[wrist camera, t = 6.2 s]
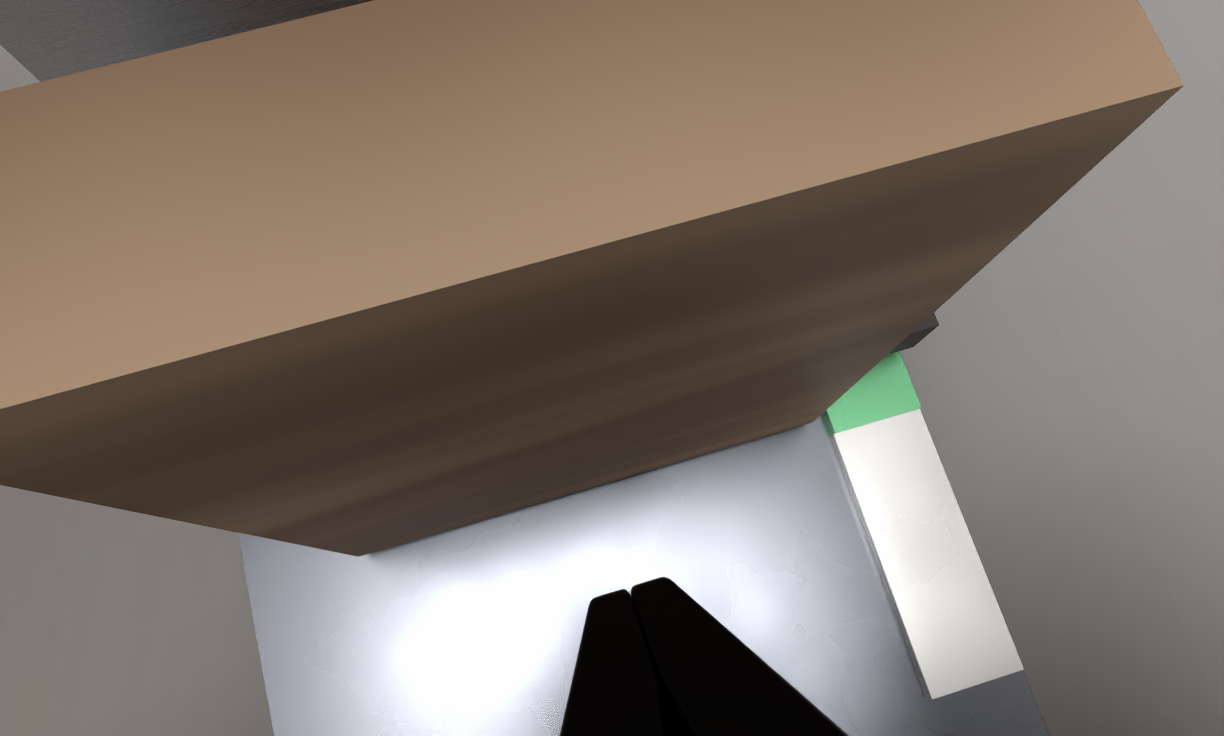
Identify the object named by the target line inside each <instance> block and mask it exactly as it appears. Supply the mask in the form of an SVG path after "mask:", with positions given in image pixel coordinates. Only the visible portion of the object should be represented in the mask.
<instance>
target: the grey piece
mask: <svg viewBox="0 0 1224 736" xmlns="http://www.w3.org/2000/svg"><path fill="white" fill-rule="evenodd" d="M369 1H373V0H0V45H1V46H3V47H4V48H5V49H6V50H7V51H8V52H9V53H10V54H11V55H12V56H13V57H14V58H16V59H17V60H18V61H19V62H20V63H21V64H22V65H23V66H24V67H25V68H26V69H27V70H29V71H30V72H31V73H32V74H33V75H34V76H35V77H36V78H37V79H38V80H39V81H40V82H43V81H47V80H51V79H55V78H59V77H63V76H67V75H71V74H75V73H80V72H84V71H88V70H92V69H96V68H100V67H104V66H108V65H112V64H116V63H120V62H124V61H129V60H133V59H137V58H141V57H145V56H149V55H153V54H157V53H161V52H165V51H169V50H173V49H178V48H182V47H186V46H190V45H194V44H198V43H202V42H206V41H210V40H214V39H218V38H222V37H227V36H231V35H235V34H239V33H243V32H247V31H251V30H255V29H259V28H263V27H267V26H271V25H276V24H280V23H284V22H288V21H292V20H296V19H300V18H304V17H308V16H312V15H316V14H320V13H325V12H329V11H333V10H337V9H341V8H345V7H349V6H353V5H357V4H361V3H365V2H369ZM920 408H921V405H920V402H919V400H918V397H917V395H916V392H915V390H914V387H913V385H912V382H911V380H910V377H909V375H908V372H907V370H906V367H905V365H904V362H903V360H902V357H901V355H900V352H899V351H897V352H894V353H891V354H888V355H886V356H885V357H884V358H883V359H882V360H881V361H880V362H879V363H878V364H876V365H875V366H874V367H873V368H872V369H871V370H870V371H869V372H868V373H867V374H865V375H864V376H863V377H862V378H861V379H860V380H859V381H858V382H857V383H856V384H854V385H853V386H852V387H851V388H850V389H849V390H848V391H847V392H846V393H845V394H843V395H842V396H841V397H840V398H839V399H838V400H837V401H836V402H835V403H834V404H832V405H831V406H830V407H829V408H828V409H827V410H826V411H825V412H824V413H823V414H821V415H820V416H819V417H818V418H817V419H816V420H815V421H814V422H812V423H808V424H805V425H802V426H798V427H795V428H792V429H788V430H785V431H781V432H778V433H775V434H771V435H768V436H765V437H761V438H758V439H754V440H751V441H748V442H744V443H741V444H738V445H734V446H731V447H727V448H724V449H721V450H717V451H714V452H711V453H707V454H704V455H700V456H697V457H694V458H690V459H687V460H684V461H680V462H677V463H673V464H670V465H667V466H663V467H660V468H657V469H653V470H650V471H646V472H643V473H640V474H636V475H633V476H630V477H626V478H623V479H619V480H616V481H613V482H609V483H606V484H603V485H599V486H596V487H592V488H589V489H586V490H582V491H579V492H576V493H572V494H569V495H565V496H562V497H559V498H555V499H552V500H549V501H545V502H542V503H538V504H535V505H532V506H528V507H525V508H522V509H518V510H515V511H511V512H508V513H505V514H501V515H498V516H495V517H491V518H488V519H484V520H481V521H478V522H474V523H471V524H468V525H464V526H461V527H457V528H454V529H451V530H447V531H444V532H441V533H437V534H434V535H430V536H427V537H424V538H420V539H417V540H413V541H410V542H407V543H403V544H400V545H397V546H393V547H390V548H386V549H383V550H380V551H376V552H373V553H370V554H366V555H363V556H359V557H357V556H352V555H347V554H342V553H337V552H332V551H327V550H322V549H317V548H312V547H308V546H303V545H298V544H293V543H288V542H283V541H278V540H273V539H268V538H263V537H258V536H253V535H248V534H243V533H238V537H239V542H240V548H241V554H242V559H243V565H244V570H245V576H246V581H247V587H248V593H249V598H250V604H251V609H252V615H253V621H254V626H255V632H256V637H257V643H258V648H259V654H260V660H261V665H262V671H263V676H264V682H265V688H266V693H267V699H268V704H269V710H270V715H271V721H272V727H273V732H274V736H560V731H561V727H562V722H563V718H564V713H565V709H566V704H567V700H568V695H569V691H570V686H571V682H572V677H573V673H574V668H575V664H576V659H577V655H578V651H579V646H580V642H581V637H582V633H583V628H584V624H585V619H586V615H587V610H588V606H589V604H590V601H591V600H592V599H593V598H595V597H598V596H601V595H604V594H607V593H611V592H614V591H617V590H620V589H625V590H627V591H628V592H629V593H630V591H631V588H632V587H633V586H634V585H637V584H640V583H643V582H646V581H650V580H653V579H656V578H659V577H667V578H669V579H671V580H672V581H673V582H674V583H676V584H677V585H678V586H679V587H680V588H681V589H682V590H684V591H685V592H686V593H687V594H688V595H689V596H690V597H692V598H693V599H694V600H695V601H696V602H697V603H698V604H700V605H701V606H702V607H703V608H704V609H705V610H706V611H708V612H709V613H710V614H711V615H712V616H713V617H714V618H716V619H717V620H718V621H719V622H720V623H721V624H722V625H724V626H725V627H726V628H727V629H728V630H729V631H730V632H732V633H733V634H734V635H735V636H736V637H737V638H738V639H740V640H741V641H742V642H743V643H744V644H745V645H746V646H748V647H749V648H750V649H751V650H752V651H753V652H754V653H755V654H757V655H758V656H759V657H760V658H761V659H762V660H763V661H765V662H766V663H767V664H768V665H769V666H770V667H771V668H773V669H774V670H775V671H776V672H777V673H778V674H779V675H781V676H782V677H783V678H784V679H785V680H786V681H787V682H789V683H790V684H791V685H792V686H793V687H794V688H795V689H797V690H798V691H799V692H800V693H801V694H802V695H803V696H805V697H806V698H807V699H808V700H809V701H810V702H811V703H813V704H814V705H815V706H816V707H817V708H818V709H819V710H821V711H822V712H823V713H824V714H825V715H826V716H827V717H829V718H830V719H831V720H832V721H833V722H834V723H835V724H837V725H838V726H839V727H840V728H841V729H842V730H843V731H845V732H846V733H847V734H848V735H849V736H1049V734H1048V732H1047V729H1046V727H1045V724H1044V722H1043V719H1042V717H1041V714H1040V712H1039V709H1038V707H1037V704H1036V702H1035V699H1034V697H1033V694H1032V692H1031V689H1030V687H1029V684H1028V682H1027V679H1026V677H1025V674H1024V672H1023V670H1024V668H1023V665H1022V663H1021V660H1020V658H1019V655H1018V653H1017V650H1016V648H1015V645H1014V643H1013V640H1012V638H1011V635H1010V633H1009V630H1008V628H1007V625H1006V623H1005V620H1004V618H1003V615H1002V613H1001V610H1000V608H999V605H998V603H997V600H996V598H995V595H994V593H993V590H992V588H991V585H990V583H989V580H988V578H987V575H986V573H985V571H984V568H983V566H982V563H981V561H980V558H979V556H978V553H977V551H976V548H975V546H974V543H973V541H972V538H971V536H970V533H969V531H968V528H967V526H966V523H965V521H964V518H963V516H962V513H961V511H960V508H959V506H958V503H957V501H956V498H955V496H954V493H953V491H952V488H951V486H950V483H949V481H948V478H947V476H946V473H945V471H944V468H943V466H942V463H941V461H940V458H939V456H938V453H937V451H936V448H935V446H934V443H933V441H932V438H931V436H930V433H929V431H928V428H927V426H926V423H925V421H924V418H923V416H922V413H921V411H920ZM630 595H631V593H630Z"/></svg>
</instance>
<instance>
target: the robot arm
mask: <svg viewBox="0 0 1224 736" xmlns="http://www.w3.org/2000/svg"><path fill="white" fill-rule="evenodd" d="M630 593H631V595H630ZM630 593H629V592H628V591H627V590H625V589H620V590H617V591H614V592H611V593H607V594H604V595H601V596H598V597H595V598H593V599H592V600H591V601H590V604H589V606H588V610H587V615H586V619H585V624H584V628H583V633H582V637H581V642H580V646H579V651H578V655H577V659H576V664H575V668H574V673H573V677H572V682H571V686H570V691H569V695H568V700H567V704H566V709H565V713H564V718H563V722H562V727H561V731H560V736H849V735H848V734H847V733H846V732H845V731H843V730H842V729H841V728H840V727H839V726H838V725H837V724H835V723H834V722H833V721H832V720H831V719H830V718H829V717H827V716H826V715H825V714H824V713H823V712H822V711H821V710H819V709H818V708H817V707H816V706H815V705H814V704H813V703H811V702H810V701H809V700H808V699H807V698H806V697H805V696H803V695H802V694H801V693H800V692H799V691H798V690H797V689H795V688H794V687H793V686H792V685H791V684H790V683H789V682H787V681H786V680H785V679H784V678H783V677H782V676H781V675H779V674H778V673H777V672H776V671H775V670H774V669H773V668H771V667H770V666H769V665H768V664H767V663H766V662H765V661H763V660H762V659H761V658H760V657H759V656H758V655H757V654H755V653H754V652H753V651H752V650H751V649H750V648H749V647H748V646H746V645H745V644H744V643H743V642H742V641H741V640H740V639H738V638H737V637H736V636H735V635H734V634H733V633H732V632H730V631H729V630H728V629H727V628H726V627H725V626H724V625H722V624H721V623H720V622H719V621H718V620H717V619H716V618H714V617H713V616H712V615H711V614H710V613H709V612H708V611H706V610H705V609H704V608H703V607H702V606H701V605H700V604H698V603H697V602H696V601H695V600H694V599H693V598H692V597H690V596H689V595H688V594H687V593H686V592H685V591H684V590H682V589H681V588H680V587H679V586H678V585H677V584H676V583H674V582H673V581H672V580H671V579H669V578H667V577H659V578H656V579H653V580H650V581H646V582H643V583H640V584H637V585H634V586H633V587H632V588H631V591H630Z"/></svg>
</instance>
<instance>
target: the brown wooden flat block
mask: <svg viewBox="0 0 1224 736" xmlns="http://www.w3.org/2000/svg"><path fill="white" fill-rule="evenodd" d="M1183 86H1184V85H1183V83H1182V81H1181V79H1180V77H1179V76H1178V74H1177V72H1176V70H1175V68H1174V66H1173V64H1172V63H1171V61H1170V59H1169V57H1168V55H1167V53H1166V51H1165V50H1164V48H1163V46H1162V44H1161V42H1160V40H1159V38H1158V37H1157V35H1156V33H1155V31H1154V29H1153V27H1152V25H1151V24H1150V22H1149V20H1148V18H1147V16H1146V14H1145V12H1144V11H1143V9H1142V7H1141V5H1140V3H1139V1H1138V0H373V1H369V2H365V3H361V4H357V5H353V6H349V7H345V8H341V9H337V10H333V11H329V12H325V13H320V14H316V15H312V16H308V17H304V18H300V19H296V20H292V21H288V22H284V23H280V24H276V25H271V26H267V27H263V28H259V29H255V30H251V31H247V32H243V33H239V34H235V35H231V36H227V37H222V38H218V39H214V40H210V41H206V42H202V43H198V44H194V45H190V46H186V47H182V48H178V49H173V50H169V51H165V52H161V53H157V54H153V55H149V56H145V57H141V58H137V59H133V60H129V61H124V62H120V63H116V64H112V65H108V66H104V67H100V68H96V69H92V70H88V71H84V72H80V73H75V74H71V75H67V76H63V77H59V78H55V79H51V80H47V81H43V82H39V83H35V84H31V85H26V86H22V87H18V88H14V89H10V90H6V91H2V92H0V485H4V486H9V487H14V488H19V489H24V490H29V491H34V492H39V493H44V494H49V495H54V496H59V497H64V498H69V499H74V500H79V501H84V502H88V503H93V504H98V505H103V506H108V507H113V508H118V509H123V510H128V511H133V512H138V513H143V514H148V515H153V516H158V517H163V518H168V519H173V520H178V521H183V522H188V523H193V524H198V525H203V526H208V527H213V528H218V529H223V530H228V531H233V532H238V533H243V534H248V535H253V536H258V537H263V538H268V539H273V540H278V541H283V542H288V543H293V544H298V545H303V546H308V547H312V548H317V549H322V550H327V551H332V552H337V553H342V554H347V555H352V556H357V557H359V556H363V555H366V554H370V553H373V552H376V551H380V550H383V549H386V548H390V547H393V546H397V545H400V544H403V543H407V542H410V541H413V540H417V539H420V538H424V537H427V536H430V535H434V534H437V533H441V532H444V531H447V530H451V529H454V528H457V527H461V526H464V525H468V524H471V523H474V522H478V521H481V520H484V519H488V518H491V517H495V516H498V515H501V514H505V513H508V512H511V511H515V510H518V509H522V508H525V507H528V506H532V505H535V504H538V503H542V502H545V501H549V500H552V499H555V498H559V497H562V496H565V495H569V494H572V493H576V492H579V491H582V490H586V489H589V488H592V487H596V486H599V485H603V484H606V483H609V482H613V481H616V480H619V479H623V478H626V477H630V476H633V475H636V474H640V473H643V472H646V471H650V470H653V469H657V468H660V467H663V466H667V465H670V464H673V463H677V462H680V461H684V460H687V459H690V458H694V457H697V456H700V455H704V454H707V453H711V452H714V451H717V450H721V449H724V448H727V447H731V446H734V445H738V444H741V443H744V442H748V441H751V440H754V439H758V438H761V437H765V436H768V435H771V434H775V433H778V432H781V431H785V430H788V429H792V428H795V427H798V426H802V425H805V424H808V423H812V422H814V421H815V420H816V419H817V418H818V417H819V416H820V415H821V414H823V413H824V412H825V411H826V410H827V409H828V408H829V407H830V406H831V405H832V404H834V403H835V402H836V401H837V400H838V399H839V398H840V397H841V396H842V395H843V394H845V393H846V392H847V391H848V390H849V389H850V388H851V387H852V386H853V385H854V384H856V383H857V382H858V381H859V380H860V379H861V378H862V377H863V376H864V375H865V374H867V373H868V372H869V371H870V370H871V369H872V368H873V367H874V366H875V365H876V364H878V363H879V362H880V361H881V360H882V359H883V358H884V357H885V356H886V355H888V354H891V353H894V352H897V351H901V350H904V349H908V348H911V347H914V346H915V345H916V344H917V343H919V342H920V341H921V340H922V339H923V338H924V337H926V336H927V335H928V334H929V333H930V332H931V331H933V330H934V329H935V328H936V327H937V326H938V325H939V323H938V321H937V319H936V316H935V314H934V312H935V311H936V310H937V309H938V308H939V307H940V306H941V305H943V304H944V303H945V302H946V301H947V300H948V299H949V298H950V297H951V296H952V295H954V294H955V293H956V292H957V291H958V290H959V289H960V288H961V287H962V286H963V285H965V284H966V283H967V282H968V281H969V280H970V279H971V278H972V277H973V276H974V275H976V274H977V273H978V272H979V271H980V270H981V269H982V268H983V267H984V266H986V265H987V264H988V263H989V262H990V261H991V260H992V259H993V258H994V257H995V256H997V255H998V254H999V253H1000V252H1001V251H1002V250H1003V249H1004V248H1005V247H1006V246H1008V245H1009V244H1010V243H1011V242H1012V241H1013V240H1014V239H1015V238H1016V237H1017V236H1019V235H1020V234H1021V233H1022V232H1023V231H1024V230H1025V229H1026V228H1027V227H1028V226H1030V225H1031V224H1032V223H1033V222H1034V221H1035V220H1036V219H1037V218H1038V217H1039V216H1041V215H1042V214H1043V213H1044V212H1045V211H1046V210H1047V209H1048V208H1049V207H1050V206H1052V205H1053V204H1054V203H1055V202H1056V201H1057V200H1058V199H1059V198H1060V197H1061V196H1063V195H1064V194H1065V193H1066V192H1067V191H1068V190H1069V189H1070V188H1071V187H1072V186H1074V185H1075V184H1076V183H1077V182H1078V181H1079V180H1080V179H1081V178H1082V177H1084V176H1085V175H1086V174H1087V173H1088V172H1089V171H1090V170H1091V169H1092V168H1093V167H1095V166H1096V165H1097V164H1098V163H1099V162H1100V161H1101V160H1102V159H1103V158H1104V157H1106V156H1107V155H1108V154H1109V153H1110V152H1111V151H1112V150H1113V149H1114V148H1115V147H1117V146H1118V145H1119V144H1120V143H1121V142H1122V141H1123V140H1124V139H1125V138H1126V137H1128V136H1129V135H1130V134H1131V133H1132V132H1133V131H1134V130H1135V129H1136V128H1137V127H1139V126H1140V125H1141V124H1142V123H1143V122H1144V121H1145V120H1146V119H1147V118H1148V117H1150V116H1151V115H1152V114H1153V113H1154V112H1155V111H1156V110H1157V109H1158V108H1159V107H1161V106H1162V105H1163V104H1164V103H1165V102H1166V101H1167V100H1168V99H1169V98H1170V97H1172V96H1173V95H1174V94H1175V93H1176V92H1177V91H1178V90H1179V89H1180V88H1182V87H1183Z"/></svg>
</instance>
